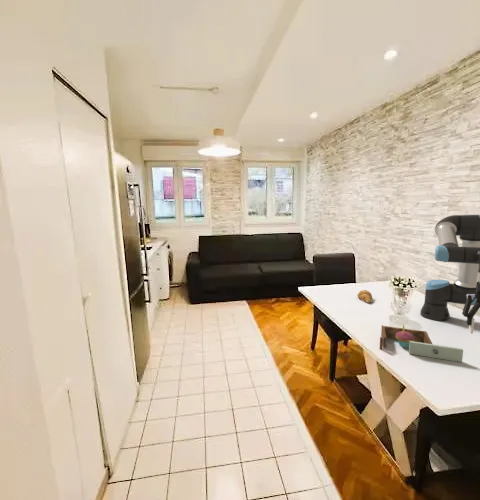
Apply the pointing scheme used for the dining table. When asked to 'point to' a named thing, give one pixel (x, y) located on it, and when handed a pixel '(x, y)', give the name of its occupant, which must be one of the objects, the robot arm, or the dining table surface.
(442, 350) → the grey flat panel
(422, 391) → the dining table surface
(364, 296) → the croissant
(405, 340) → the cupcake
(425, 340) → the holder
